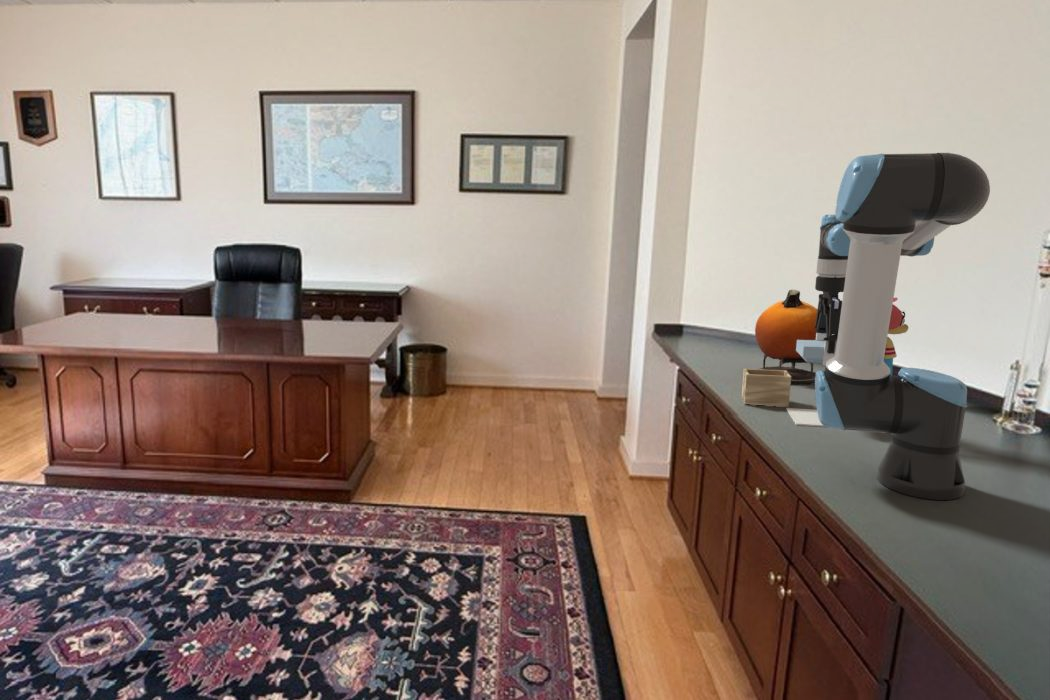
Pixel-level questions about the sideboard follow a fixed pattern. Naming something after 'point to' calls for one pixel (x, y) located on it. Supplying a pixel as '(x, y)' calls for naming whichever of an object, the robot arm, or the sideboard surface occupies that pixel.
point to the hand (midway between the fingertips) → (824, 360)
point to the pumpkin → (787, 335)
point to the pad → (804, 417)
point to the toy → (894, 328)
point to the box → (766, 387)
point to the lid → (811, 350)
